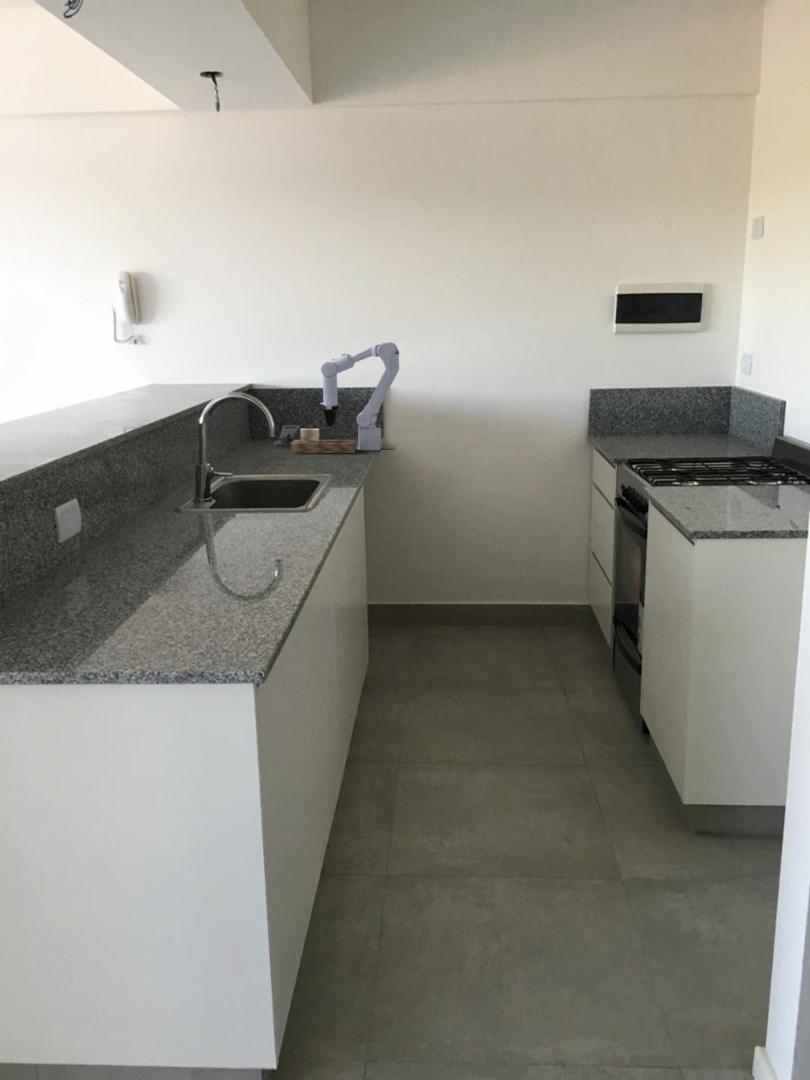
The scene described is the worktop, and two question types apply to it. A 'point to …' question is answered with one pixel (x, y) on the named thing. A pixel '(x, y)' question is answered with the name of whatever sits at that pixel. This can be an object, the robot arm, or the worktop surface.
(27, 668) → the worktop surface
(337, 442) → the wooden compartment tray
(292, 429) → the dark grey angled stand
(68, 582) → the worktop surface
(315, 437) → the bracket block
